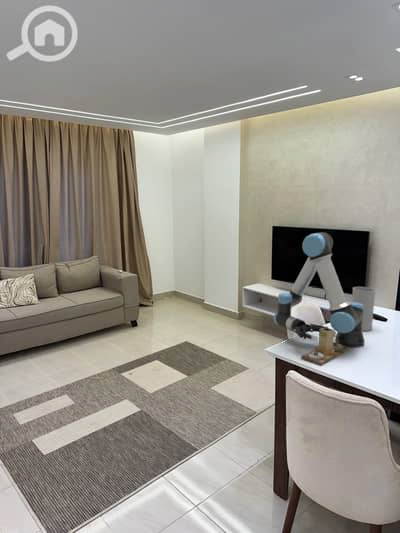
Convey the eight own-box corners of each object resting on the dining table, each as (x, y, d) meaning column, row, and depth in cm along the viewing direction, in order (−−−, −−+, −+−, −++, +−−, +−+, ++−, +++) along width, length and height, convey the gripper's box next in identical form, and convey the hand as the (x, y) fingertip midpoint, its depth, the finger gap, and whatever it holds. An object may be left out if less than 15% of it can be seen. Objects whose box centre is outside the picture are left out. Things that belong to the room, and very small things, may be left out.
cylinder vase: (352, 323, 240) (355, 285, 236) (373, 327, 233) (377, 288, 229) (347, 328, 230) (350, 289, 226) (369, 332, 223) (372, 292, 219)
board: (328, 344, 204) (329, 331, 203) (348, 350, 196) (349, 337, 195) (301, 358, 185) (301, 344, 184) (321, 365, 177) (322, 351, 176)
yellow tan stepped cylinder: (324, 347, 196) (325, 325, 194) (338, 353, 189) (339, 330, 187) (312, 350, 192) (314, 328, 190) (326, 356, 184) (327, 333, 182)
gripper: (311, 327, 214) (342, 339, 195) (278, 335, 201) (308, 348, 183) (312, 315, 212) (343, 325, 194) (279, 322, 200) (309, 334, 182)
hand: (326, 336), depth 189 cm, fingers open, 13 cm apart
